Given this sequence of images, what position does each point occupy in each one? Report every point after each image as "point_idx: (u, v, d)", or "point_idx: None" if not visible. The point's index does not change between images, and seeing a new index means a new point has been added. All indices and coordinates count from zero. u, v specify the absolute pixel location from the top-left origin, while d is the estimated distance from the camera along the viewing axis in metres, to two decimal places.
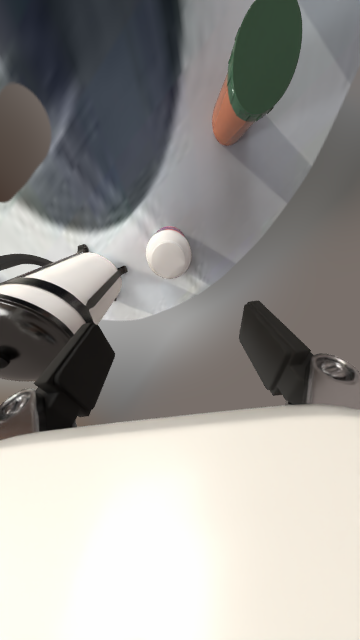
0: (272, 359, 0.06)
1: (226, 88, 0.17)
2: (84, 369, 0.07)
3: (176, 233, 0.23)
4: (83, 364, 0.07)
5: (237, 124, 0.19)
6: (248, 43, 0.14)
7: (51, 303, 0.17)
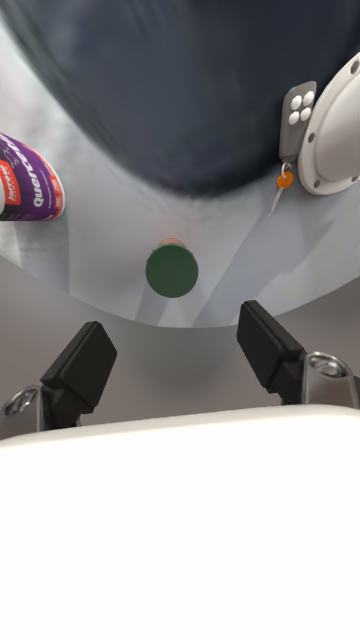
0: (267, 357, 0.06)
1: None
2: (88, 367, 0.07)
3: None
4: (87, 362, 0.07)
5: None
6: (176, 257, 0.17)
7: None
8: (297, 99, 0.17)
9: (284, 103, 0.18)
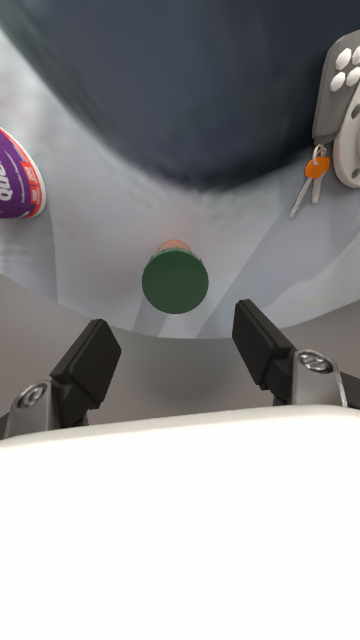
0: (259, 355, 0.07)
1: None
2: (94, 363, 0.07)
3: None
4: (93, 358, 0.07)
5: None
6: (181, 265, 0.14)
7: None
8: (345, 54, 0.13)
9: (326, 61, 0.13)
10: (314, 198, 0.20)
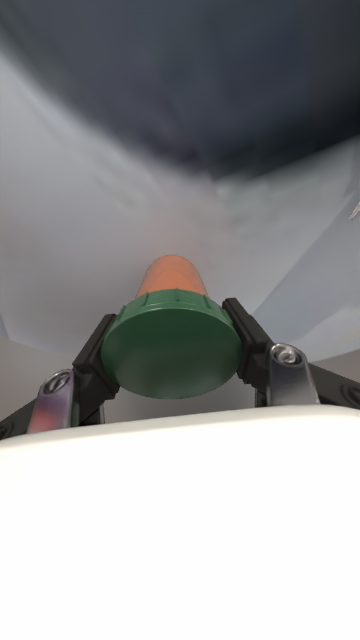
0: None
1: (161, 284, 0.08)
2: None
3: None
4: None
5: None
6: (187, 335, 0.06)
7: None
8: None
9: None
10: None
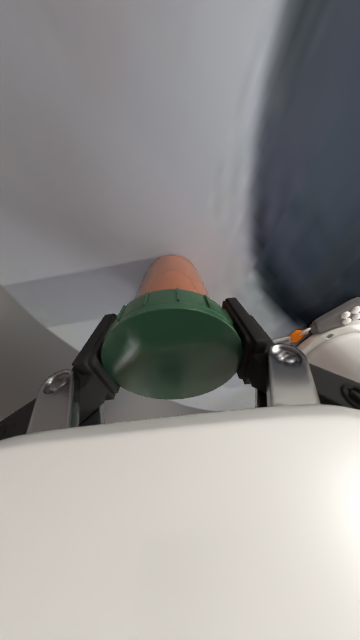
0: None
1: (207, 296, 0.09)
2: None
3: None
4: None
5: (152, 283, 0.09)
6: (188, 335, 0.06)
7: None
8: (358, 308, 0.18)
9: (354, 300, 0.18)
10: None
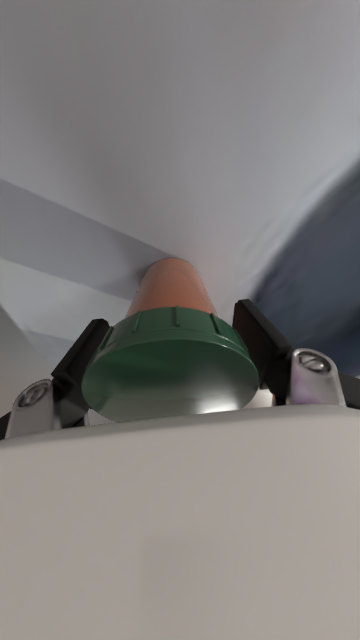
0: (258, 354, 0.07)
1: None
2: None
3: None
4: None
5: (180, 289, 0.07)
6: (191, 368, 0.05)
7: None
8: None
9: None
10: None
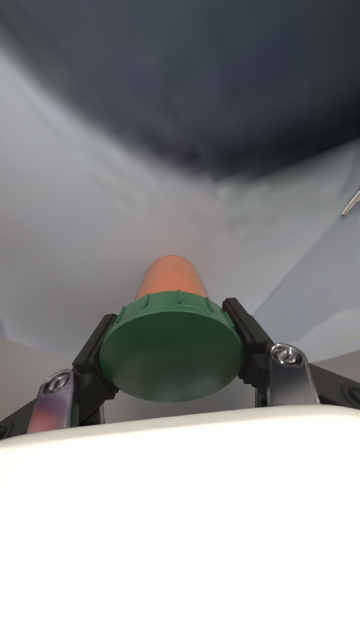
0: None
1: (161, 285, 0.08)
2: None
3: None
4: None
5: None
6: (128, 362, 0.06)
7: None
8: None
9: None
10: None
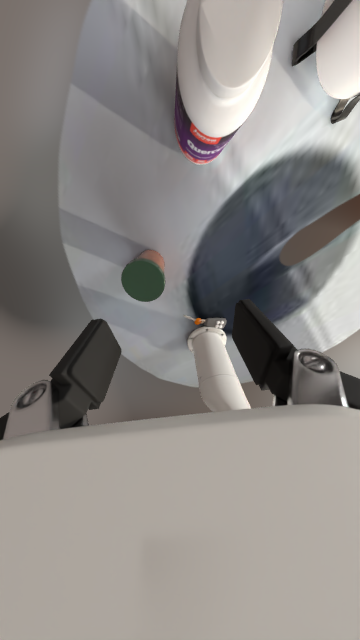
0: (259, 355, 0.07)
1: None
2: (94, 363, 0.07)
3: (207, 126, 0.14)
4: (93, 358, 0.07)
5: (147, 257, 0.25)
6: (129, 279, 0.22)
7: None
8: (222, 322, 0.42)
9: (223, 318, 0.42)
10: None
